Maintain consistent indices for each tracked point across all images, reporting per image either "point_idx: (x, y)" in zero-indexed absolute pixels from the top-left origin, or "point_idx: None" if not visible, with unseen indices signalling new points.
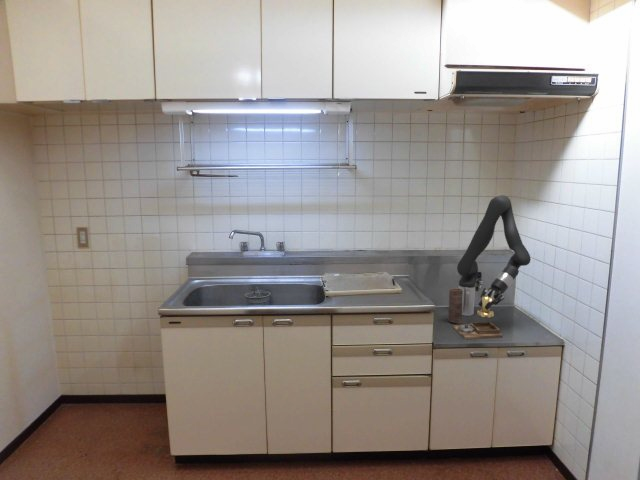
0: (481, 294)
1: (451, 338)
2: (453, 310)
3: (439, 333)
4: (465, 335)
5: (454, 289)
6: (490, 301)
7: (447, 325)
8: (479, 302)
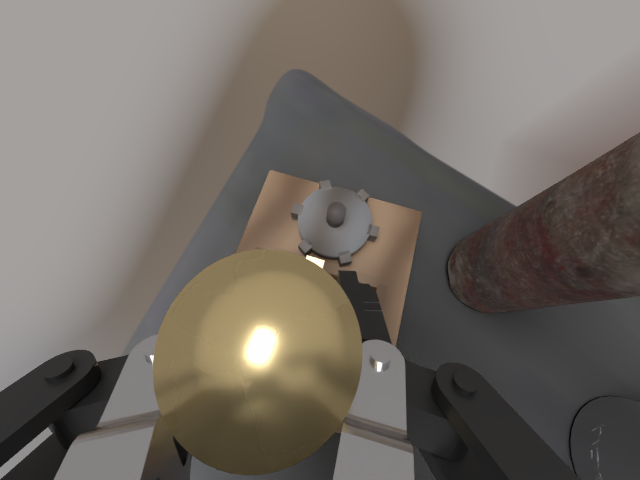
0: (524, 431)
1: (306, 132)
2: (513, 209)
3: (372, 121)
4: (284, 182)
5: None
6: (149, 344)
7: (447, 207)
8: (377, 300)
